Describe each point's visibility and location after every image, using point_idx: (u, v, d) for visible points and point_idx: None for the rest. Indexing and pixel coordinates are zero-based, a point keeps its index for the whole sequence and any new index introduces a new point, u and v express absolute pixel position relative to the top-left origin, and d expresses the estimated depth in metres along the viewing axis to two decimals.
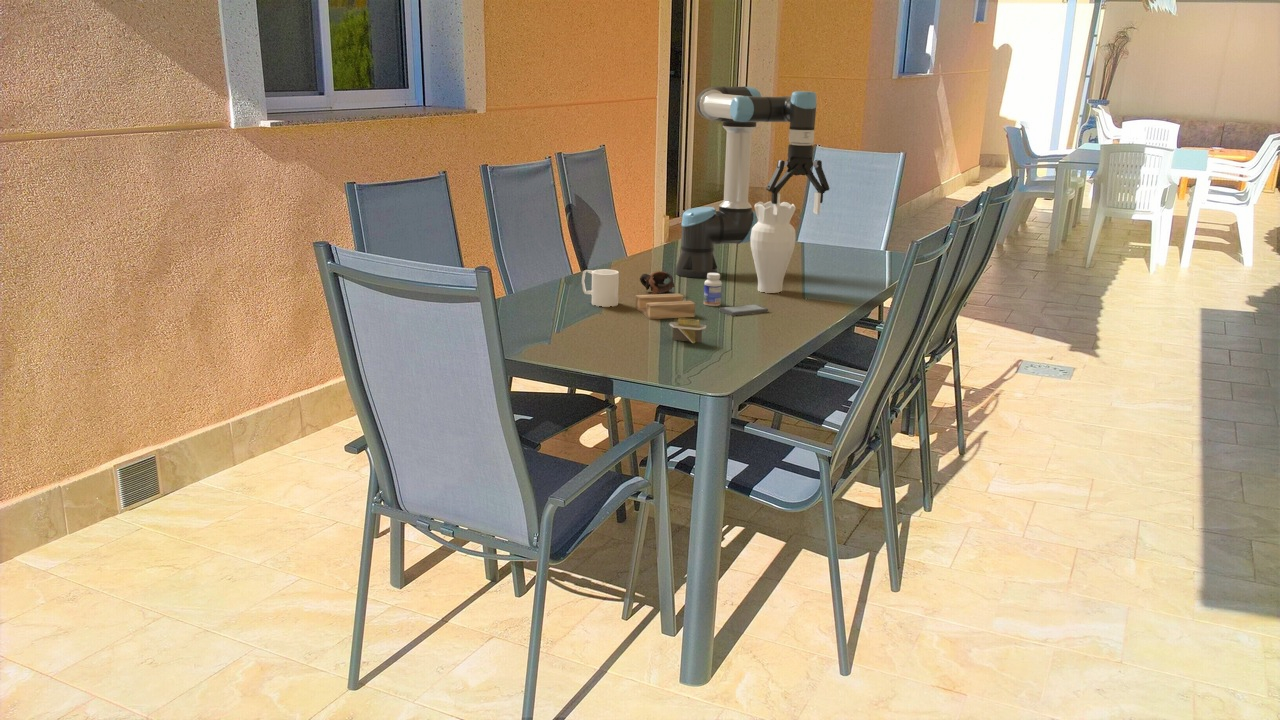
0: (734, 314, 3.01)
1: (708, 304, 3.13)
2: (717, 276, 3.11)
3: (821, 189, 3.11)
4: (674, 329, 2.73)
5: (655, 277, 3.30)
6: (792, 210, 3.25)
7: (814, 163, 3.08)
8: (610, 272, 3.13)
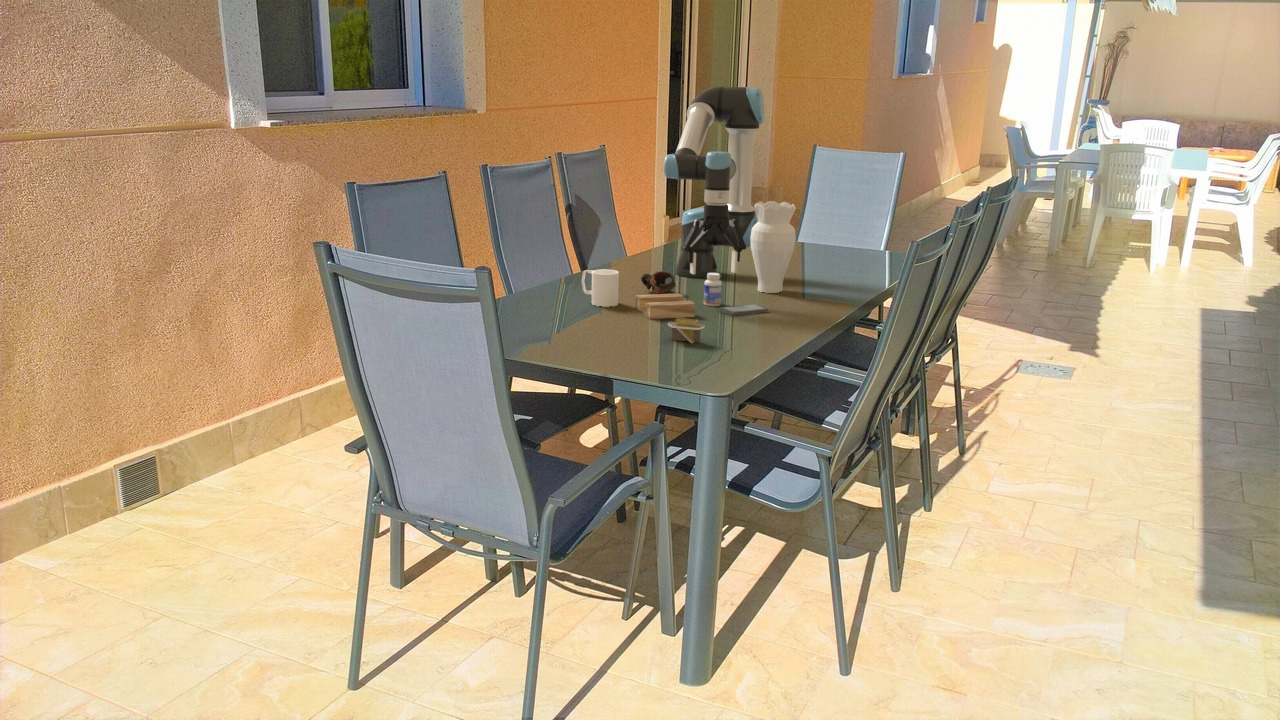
0: (734, 314, 3.01)
1: (708, 304, 3.13)
2: (717, 276, 3.11)
3: (738, 248, 3.11)
4: (672, 329, 2.73)
5: (656, 277, 3.30)
6: (792, 210, 3.25)
7: (730, 222, 3.09)
8: (610, 272, 3.13)
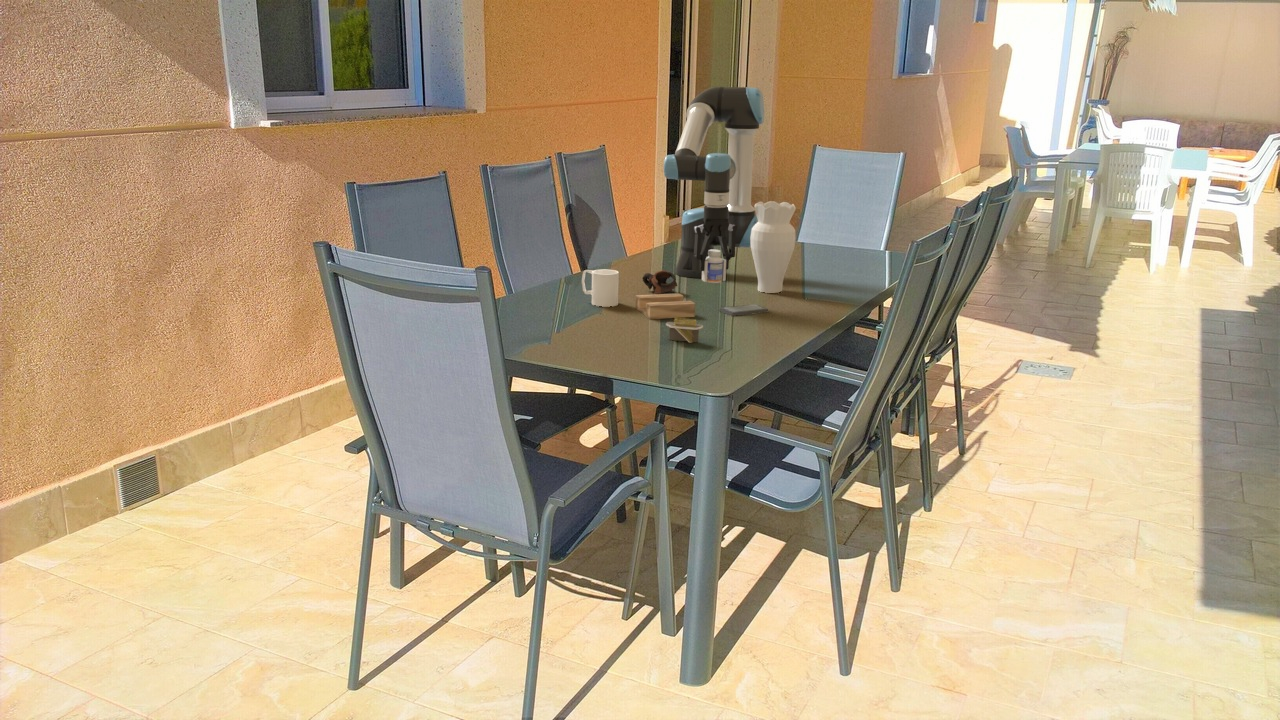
0: (734, 314, 3.01)
1: (709, 281, 3.11)
2: (718, 253, 3.09)
3: (727, 256, 3.11)
4: (671, 329, 2.73)
5: (658, 276, 3.31)
6: (792, 210, 3.25)
7: (730, 226, 3.09)
8: (610, 272, 3.13)
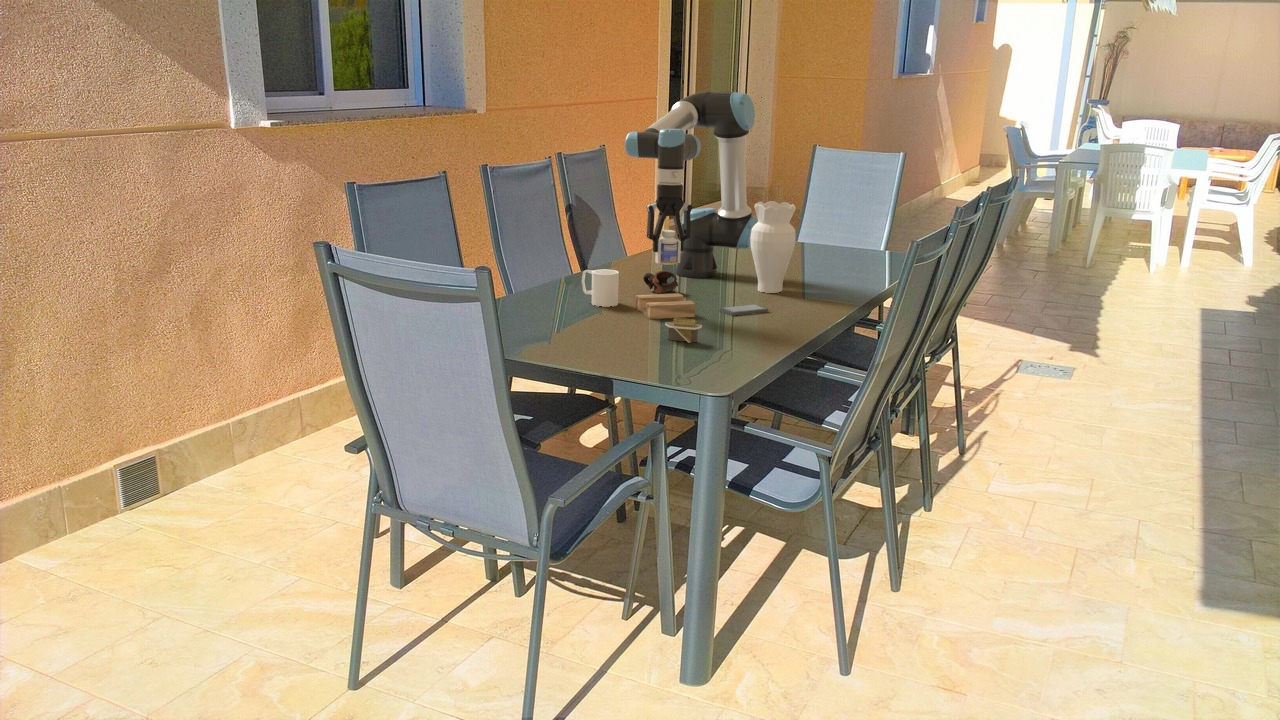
0: (734, 314, 3.01)
1: (663, 263, 2.97)
2: (672, 233, 2.95)
3: (682, 236, 2.97)
4: (670, 329, 2.73)
5: (658, 276, 3.31)
6: (792, 210, 3.25)
7: (684, 205, 2.96)
8: (610, 272, 3.13)
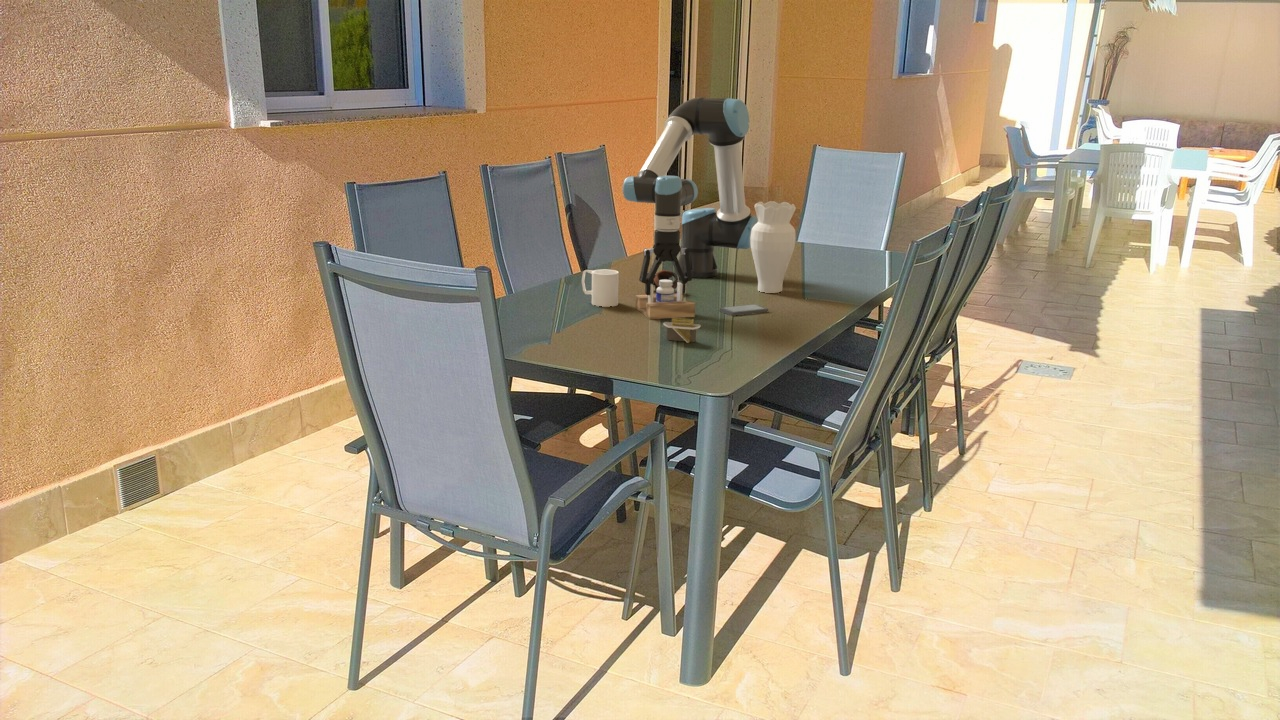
0: (734, 314, 3.01)
1: None
2: (669, 283, 2.99)
3: (683, 279, 3.01)
4: (668, 329, 2.73)
5: (659, 276, 3.32)
6: (792, 210, 3.25)
7: (682, 250, 2.99)
8: (610, 272, 3.13)
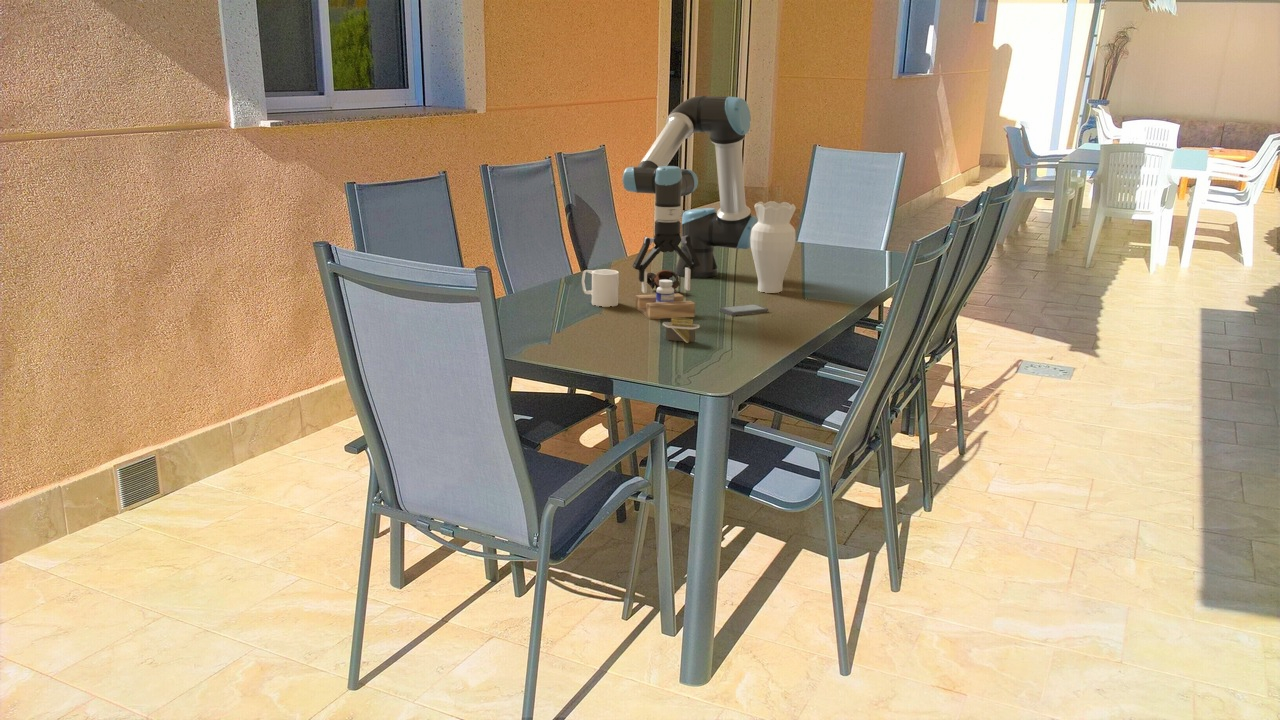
0: (734, 314, 3.01)
1: None
2: (669, 283, 2.99)
3: (691, 265, 3.01)
4: (667, 329, 2.73)
5: (660, 276, 3.32)
6: (792, 210, 3.25)
7: (682, 239, 2.98)
8: (610, 272, 3.13)
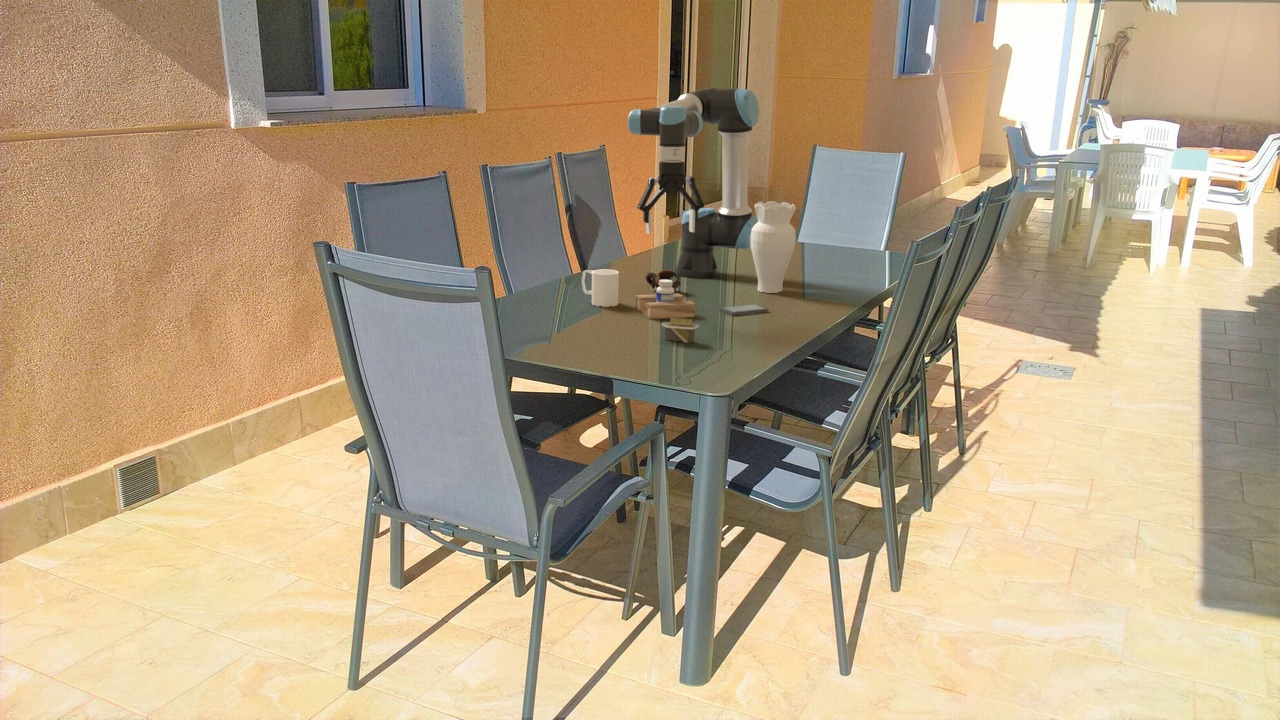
0: (734, 314, 3.01)
1: None
2: (669, 283, 2.99)
3: (695, 206, 3.01)
4: (666, 329, 2.73)
5: (661, 276, 3.32)
6: (792, 210, 3.25)
7: (687, 180, 2.98)
8: (610, 272, 3.13)
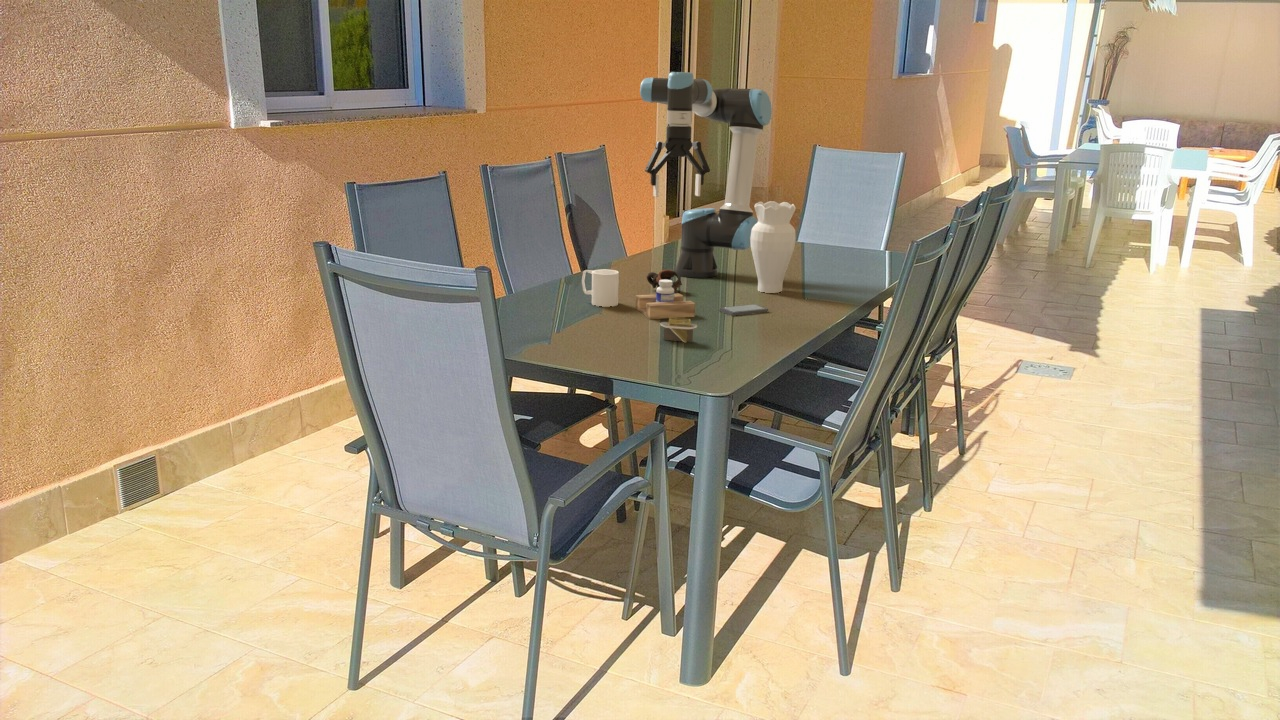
0: (734, 314, 3.01)
1: None
2: (669, 283, 2.99)
3: (701, 171, 3.09)
4: (665, 329, 2.72)
5: (662, 275, 3.33)
6: (792, 210, 3.25)
7: (693, 144, 3.07)
8: (610, 272, 3.13)
